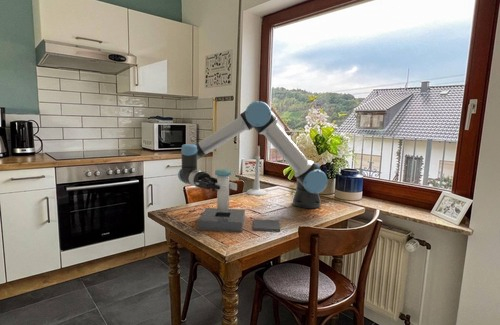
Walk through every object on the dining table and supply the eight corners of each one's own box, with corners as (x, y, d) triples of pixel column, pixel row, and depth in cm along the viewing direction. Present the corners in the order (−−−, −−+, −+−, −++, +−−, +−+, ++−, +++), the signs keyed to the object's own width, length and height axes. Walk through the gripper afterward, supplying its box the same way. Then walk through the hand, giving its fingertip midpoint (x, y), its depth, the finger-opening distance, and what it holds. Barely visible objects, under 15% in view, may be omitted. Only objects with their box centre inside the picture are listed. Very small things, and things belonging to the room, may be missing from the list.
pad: (278, 222, 132) (278, 220, 132) (280, 231, 121) (280, 229, 121) (254, 221, 133) (254, 219, 133) (253, 230, 122) (253, 227, 122)
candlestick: (242, 193, 185) (243, 145, 181) (255, 189, 195) (256, 144, 191) (258, 196, 177) (259, 146, 173) (270, 193, 187) (272, 145, 182)
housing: (244, 217, 137) (245, 209, 137) (241, 232, 120) (241, 222, 119) (206, 216, 138) (206, 207, 138) (197, 230, 120) (197, 220, 120)
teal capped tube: (231, 207, 131) (232, 169, 129) (229, 212, 124) (230, 172, 122) (216, 207, 131) (216, 169, 129) (213, 211, 125) (213, 171, 122)
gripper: (215, 184, 146) (247, 193, 129) (183, 189, 134) (213, 200, 117) (215, 169, 145) (247, 176, 128) (183, 173, 133) (213, 181, 116)
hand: (230, 188), depth 123 cm, fingers closed on teal capped tube, 5 cm apart
